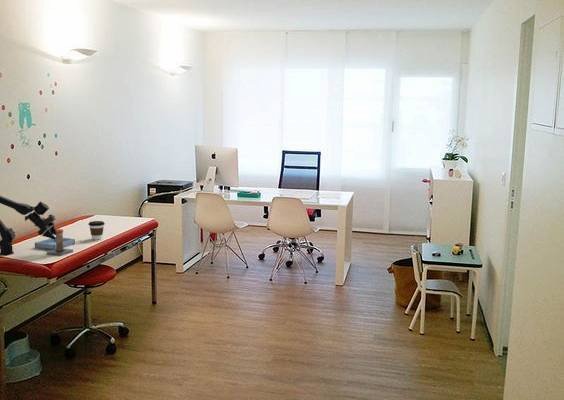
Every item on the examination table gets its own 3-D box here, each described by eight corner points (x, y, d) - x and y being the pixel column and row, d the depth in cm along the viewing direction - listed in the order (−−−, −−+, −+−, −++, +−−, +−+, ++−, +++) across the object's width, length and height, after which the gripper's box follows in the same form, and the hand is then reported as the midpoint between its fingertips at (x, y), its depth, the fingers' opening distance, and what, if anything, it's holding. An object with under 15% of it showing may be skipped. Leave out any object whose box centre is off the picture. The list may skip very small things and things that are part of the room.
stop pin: (60, 254, 344) (59, 230, 342) (54, 253, 346) (53, 230, 344) (65, 252, 349) (64, 229, 346) (59, 251, 350) (58, 228, 348)
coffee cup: (100, 240, 383) (99, 224, 381) (85, 239, 385) (85, 223, 383) (107, 237, 393) (107, 221, 392) (94, 236, 395) (93, 220, 394)
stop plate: (61, 255, 340) (61, 253, 340) (46, 254, 344) (46, 251, 344) (73, 251, 351) (73, 249, 350) (59, 250, 354) (59, 247, 354)
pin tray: (54, 250, 354) (54, 244, 353) (34, 247, 359) (34, 242, 358) (74, 244, 372) (74, 238, 372) (56, 241, 377) (56, 236, 377)
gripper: (42, 213, 333) (62, 231, 336) (50, 208, 351) (69, 225, 355) (29, 226, 333) (49, 244, 336) (38, 221, 351) (57, 237, 355)
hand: (56, 237), depth 345 cm, fingers open, 9 cm apart
